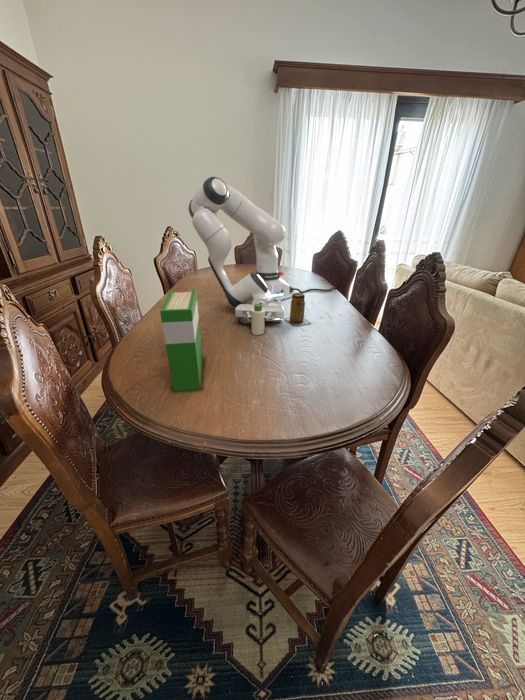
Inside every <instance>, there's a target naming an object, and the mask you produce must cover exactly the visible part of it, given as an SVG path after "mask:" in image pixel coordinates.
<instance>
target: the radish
mask: <svg viewBox="0 0 525 700" xmlns="http://www.w3.org/2000/svg"><path fill="white" fill-rule="evenodd" d="M264 316H265V310H264V309H262V305H261V304H255V305H254V309H252V310H251V321H252V324H251V334H253V335H254V336H260V335H264V334H265V323H266V322H265V321H264Z"/></svg>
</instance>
